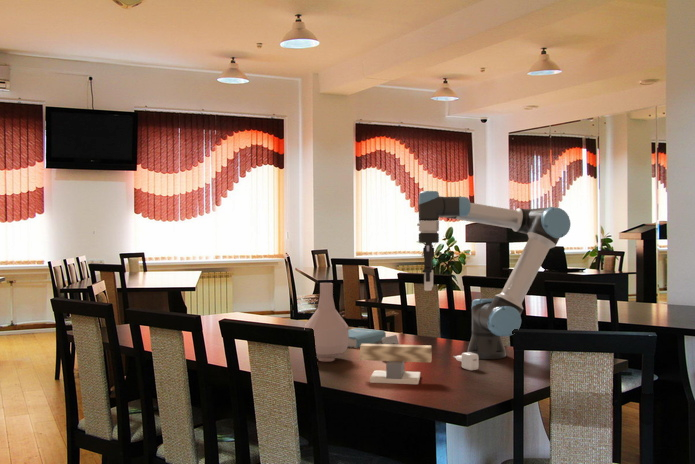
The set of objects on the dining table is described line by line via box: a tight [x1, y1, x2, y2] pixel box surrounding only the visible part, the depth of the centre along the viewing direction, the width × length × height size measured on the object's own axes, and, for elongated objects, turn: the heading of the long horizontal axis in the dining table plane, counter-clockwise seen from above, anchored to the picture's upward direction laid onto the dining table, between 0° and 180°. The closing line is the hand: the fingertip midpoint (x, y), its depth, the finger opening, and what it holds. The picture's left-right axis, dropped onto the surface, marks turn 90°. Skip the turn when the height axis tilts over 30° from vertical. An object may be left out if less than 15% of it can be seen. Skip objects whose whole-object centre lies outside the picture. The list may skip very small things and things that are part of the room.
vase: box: [304, 282, 349, 362], centre depth 253 cm, size 18×18×30 cm
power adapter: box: [452, 351, 480, 371], centre depth 238 cm, size 11×5×6 cm, turn 28°
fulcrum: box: [369, 361, 421, 385], centre depth 219 cm, size 16×12×6 cm
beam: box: [359, 343, 433, 363], centre depth 219 cm, size 24×4×5 cm, turn 80°
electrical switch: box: [377, 334, 400, 345], centre depth 254 cm, size 9×5×9 cm, turn 141°
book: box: [347, 327, 387, 349], centre depth 291 cm, size 23×16×5 cm
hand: (428, 288), depth 242 cm, fingers open, 13 cm apart
